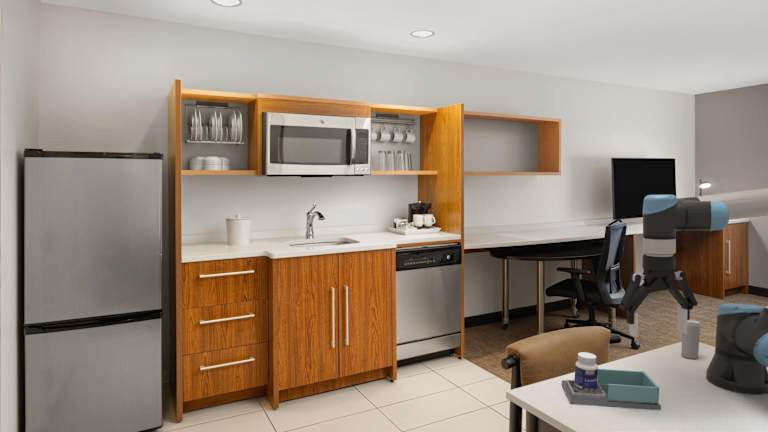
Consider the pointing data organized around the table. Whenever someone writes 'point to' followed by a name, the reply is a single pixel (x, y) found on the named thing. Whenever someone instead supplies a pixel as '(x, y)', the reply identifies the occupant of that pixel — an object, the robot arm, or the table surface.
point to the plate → (602, 398)
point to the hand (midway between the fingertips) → (657, 334)
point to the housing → (629, 385)
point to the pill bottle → (586, 373)
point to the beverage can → (691, 340)
